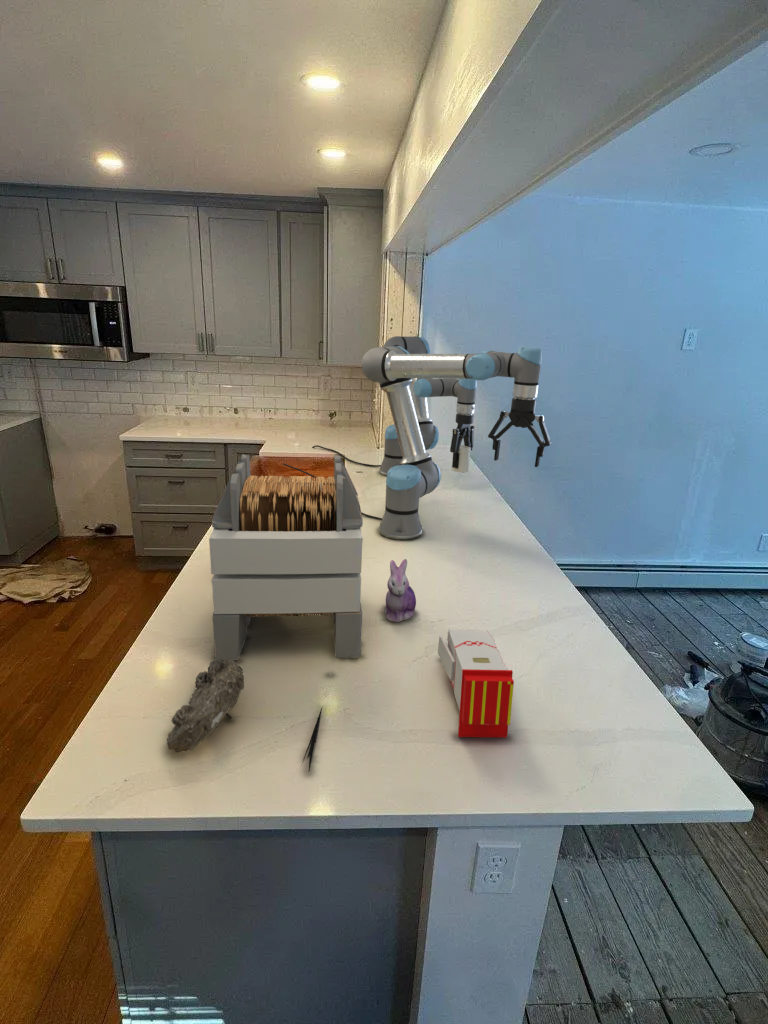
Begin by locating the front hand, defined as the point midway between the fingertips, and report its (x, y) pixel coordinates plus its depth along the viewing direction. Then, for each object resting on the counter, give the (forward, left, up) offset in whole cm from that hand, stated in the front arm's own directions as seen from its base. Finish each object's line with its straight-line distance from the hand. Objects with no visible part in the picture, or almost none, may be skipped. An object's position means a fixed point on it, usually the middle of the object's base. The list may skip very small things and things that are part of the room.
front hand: (516, 462), depth 187 cm
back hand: (-50, +31, -17) cm, 61 cm away
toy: (+47, -72, -28) cm, 91 cm away
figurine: (+14, -63, -28) cm, 71 cm away
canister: (-50, +31, -19) cm, 62 cm away
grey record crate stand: (+1, -87, -28) cm, 92 cm away
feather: (+35, -102, -28) cm, 111 cm away
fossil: (+22, -118, -28) cm, 123 cm away
